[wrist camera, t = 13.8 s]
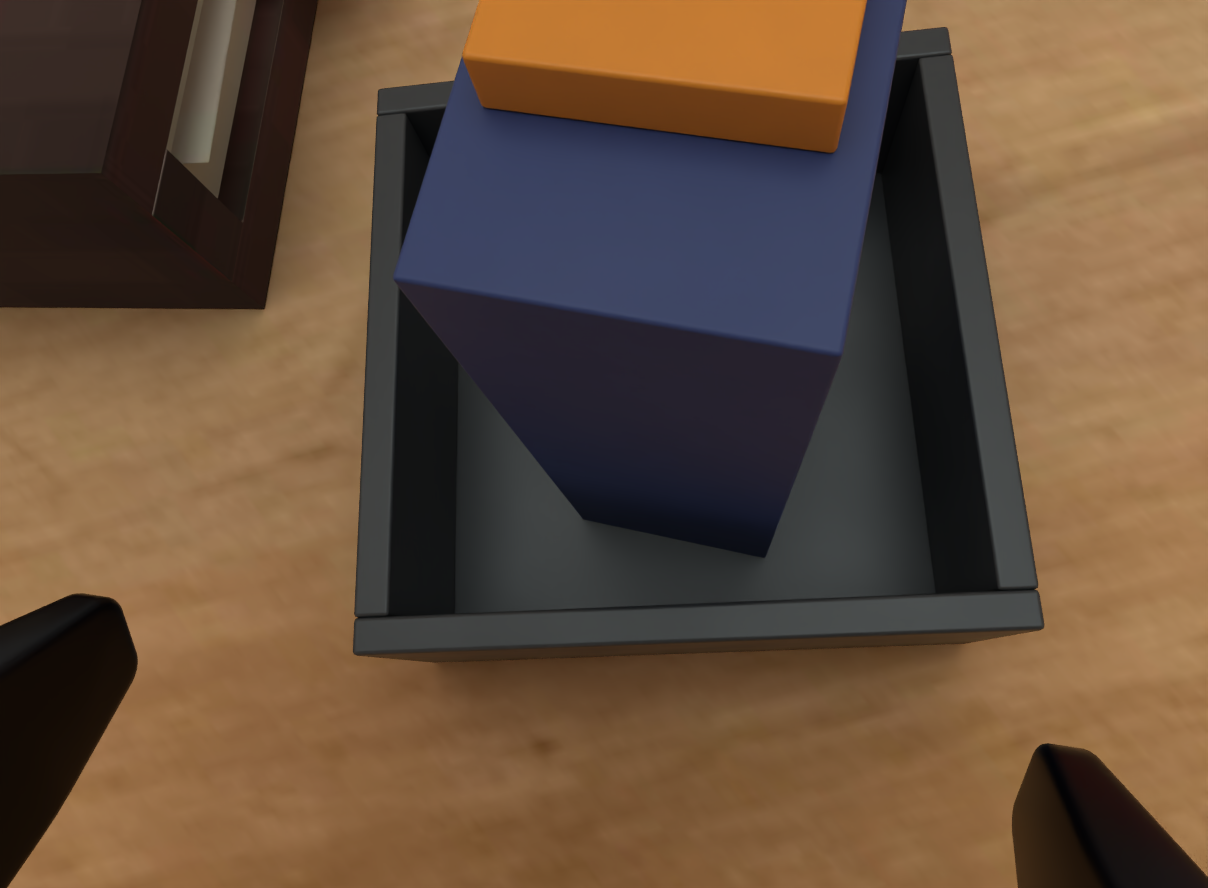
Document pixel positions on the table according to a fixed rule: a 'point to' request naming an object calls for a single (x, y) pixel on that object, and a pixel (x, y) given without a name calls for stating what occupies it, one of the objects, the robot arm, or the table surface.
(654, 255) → the block
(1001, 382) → the bin
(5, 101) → the decorative book
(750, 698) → the table surface
